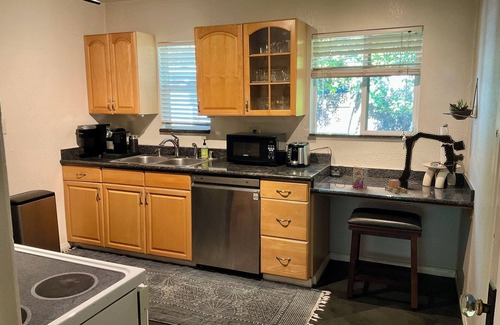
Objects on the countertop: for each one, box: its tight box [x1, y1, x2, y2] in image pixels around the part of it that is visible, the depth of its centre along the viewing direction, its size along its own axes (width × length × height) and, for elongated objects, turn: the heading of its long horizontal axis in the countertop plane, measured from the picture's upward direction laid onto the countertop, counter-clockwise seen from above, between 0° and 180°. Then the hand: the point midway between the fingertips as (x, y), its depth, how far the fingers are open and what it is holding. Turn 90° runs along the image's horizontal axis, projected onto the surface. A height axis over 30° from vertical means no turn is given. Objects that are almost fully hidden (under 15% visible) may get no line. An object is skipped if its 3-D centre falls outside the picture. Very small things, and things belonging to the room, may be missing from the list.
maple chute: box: [384, 185, 409, 195], centre depth 296 cm, size 16×8×4 cm, turn 14°
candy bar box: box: [352, 166, 369, 190], centre depth 311 cm, size 11×5×16 cm, turn 31°
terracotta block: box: [388, 179, 400, 190], centre depth 299 cm, size 5×5×8 cm
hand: (453, 173), depth 287 cm, fingers open, 9 cm apart
